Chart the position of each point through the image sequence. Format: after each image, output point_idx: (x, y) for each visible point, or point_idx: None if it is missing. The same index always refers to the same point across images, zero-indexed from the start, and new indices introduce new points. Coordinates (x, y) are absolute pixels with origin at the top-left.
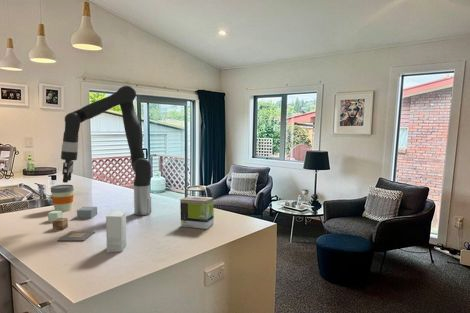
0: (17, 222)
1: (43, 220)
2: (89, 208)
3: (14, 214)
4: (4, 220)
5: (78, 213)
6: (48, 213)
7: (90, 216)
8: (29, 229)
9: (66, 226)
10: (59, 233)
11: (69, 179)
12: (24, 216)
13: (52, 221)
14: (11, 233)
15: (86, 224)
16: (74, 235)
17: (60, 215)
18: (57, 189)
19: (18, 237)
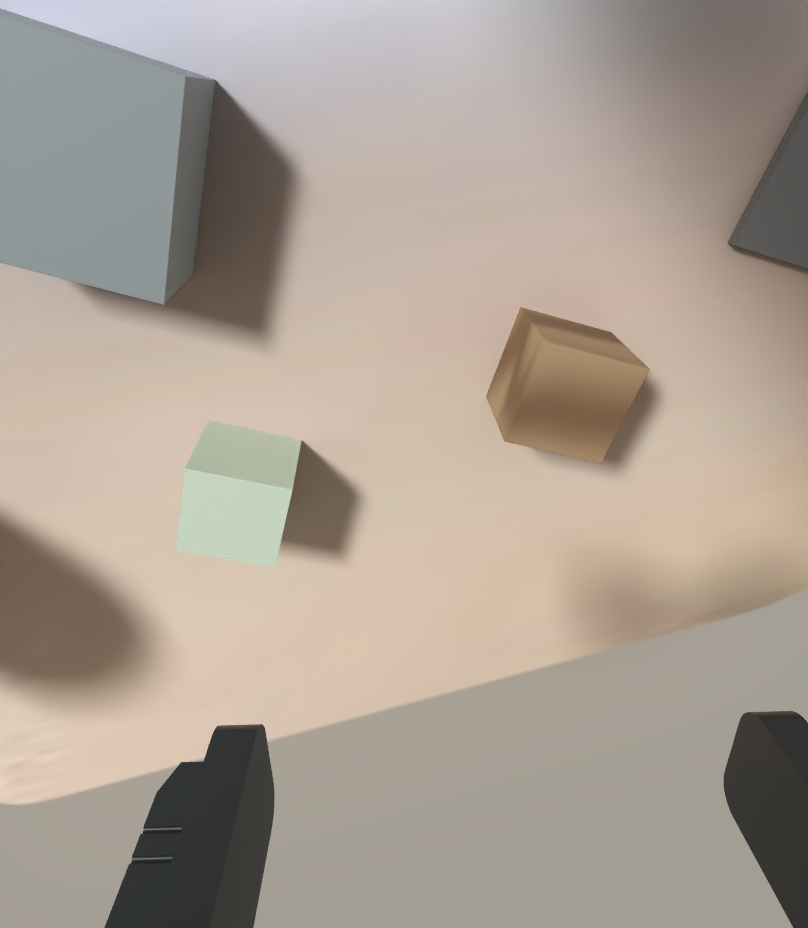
0: (253, 690)
1: None
2: (61, 125)
3: (23, 764)
4: None
5: (177, 272)
6: (275, 561)
7: (208, 93)
8: (470, 578)
9: (551, 319)
10: (697, 341)
11: (260, 767)
12: (83, 701)
13: (598, 458)
14: (527, 644)
15: (486, 109)
16: None
17: (234, 453)
18: None
19: (644, 585)
